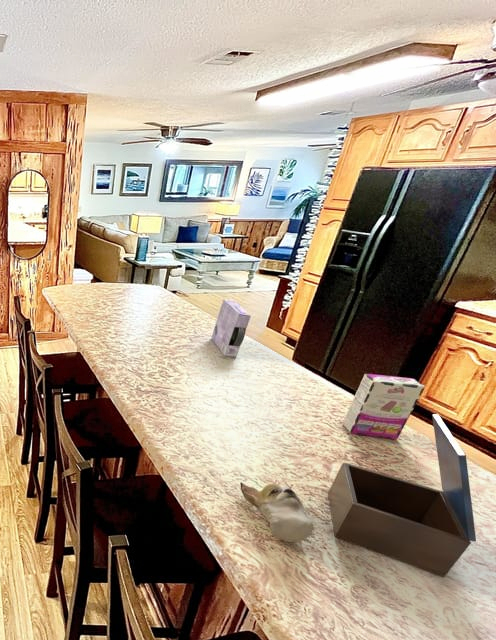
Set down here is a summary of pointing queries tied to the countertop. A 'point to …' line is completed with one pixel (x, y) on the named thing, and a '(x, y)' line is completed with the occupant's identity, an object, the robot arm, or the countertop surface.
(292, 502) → the ceramic sculpture
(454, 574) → the countertop surface
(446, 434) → the chest lid
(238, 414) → the countertop surface
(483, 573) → the countertop surface
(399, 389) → the candy bar box
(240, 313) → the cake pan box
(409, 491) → the chest
